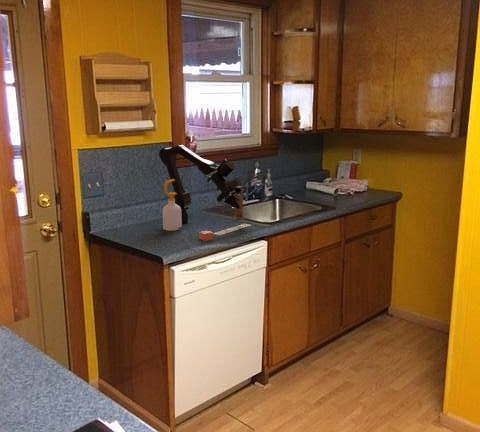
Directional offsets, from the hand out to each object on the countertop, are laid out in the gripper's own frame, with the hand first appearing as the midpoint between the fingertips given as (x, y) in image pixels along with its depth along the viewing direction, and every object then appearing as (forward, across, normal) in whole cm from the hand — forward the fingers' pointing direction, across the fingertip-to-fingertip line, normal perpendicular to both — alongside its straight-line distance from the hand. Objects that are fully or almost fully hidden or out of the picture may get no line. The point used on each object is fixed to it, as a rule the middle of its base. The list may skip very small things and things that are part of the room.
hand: (241, 207), depth 252 cm
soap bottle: (-14, -13, +30) cm, 36 cm away
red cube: (+5, -26, +11) cm, 29 cm away
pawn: (+3, 0, +5) cm, 6 cm away
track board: (+6, -5, +9) cm, 12 cm away
